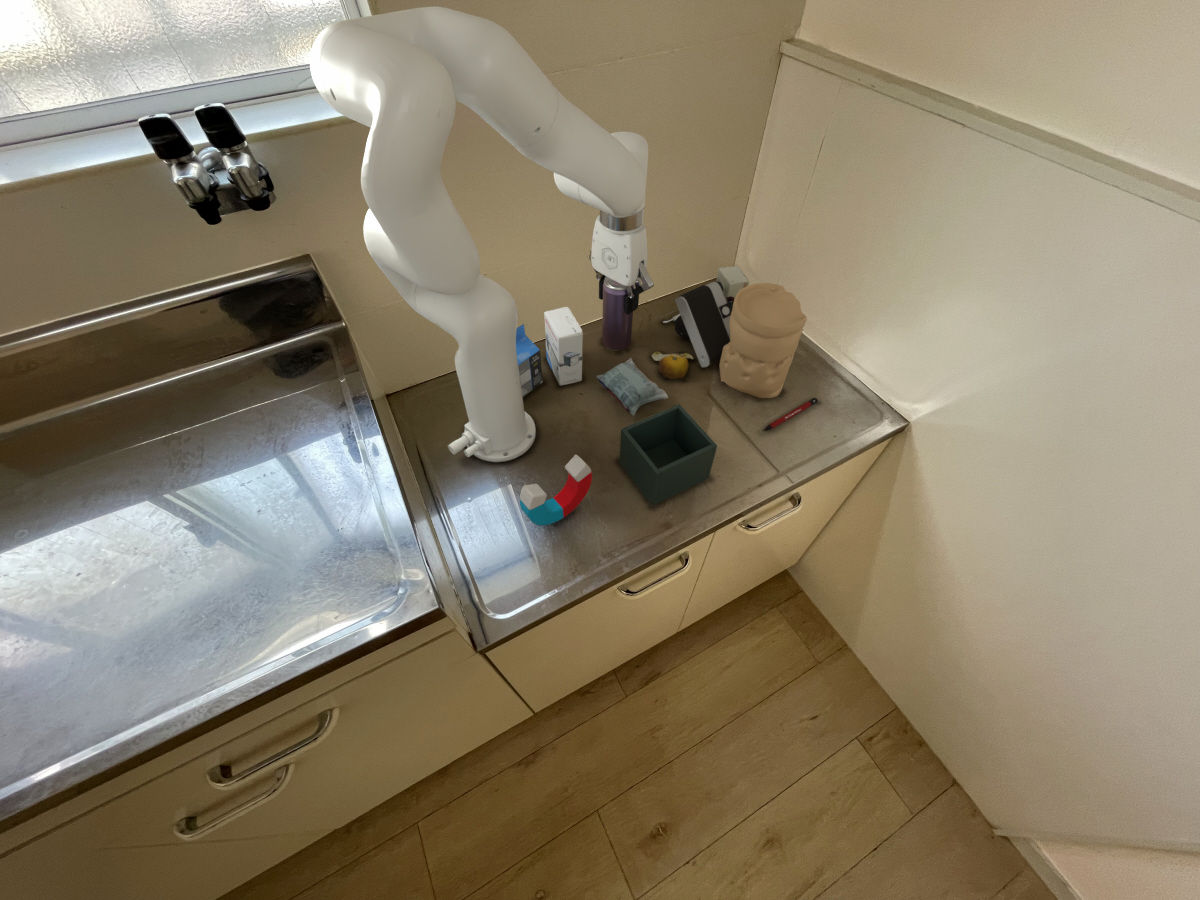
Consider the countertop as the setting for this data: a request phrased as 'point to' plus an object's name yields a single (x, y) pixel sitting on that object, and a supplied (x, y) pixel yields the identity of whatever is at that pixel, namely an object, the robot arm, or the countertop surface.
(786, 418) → the pencil
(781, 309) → the container
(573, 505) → the magnet
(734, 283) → the cosmetic box
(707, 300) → the camera
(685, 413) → the waste bin
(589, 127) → the robot arm
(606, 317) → the beverage can
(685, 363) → the fruit
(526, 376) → the blue cardboard box
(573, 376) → the ink box
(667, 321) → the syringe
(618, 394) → the packaged food
